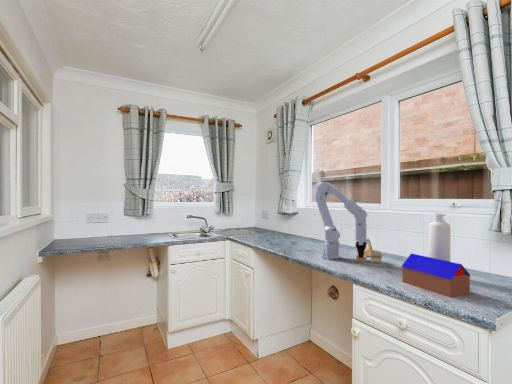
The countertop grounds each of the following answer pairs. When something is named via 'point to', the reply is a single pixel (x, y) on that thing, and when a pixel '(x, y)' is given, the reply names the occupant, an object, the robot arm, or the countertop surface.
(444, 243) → the bottle
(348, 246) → the countertop surface
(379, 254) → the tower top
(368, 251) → the bone
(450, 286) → the house
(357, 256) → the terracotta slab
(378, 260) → the tower bottom
